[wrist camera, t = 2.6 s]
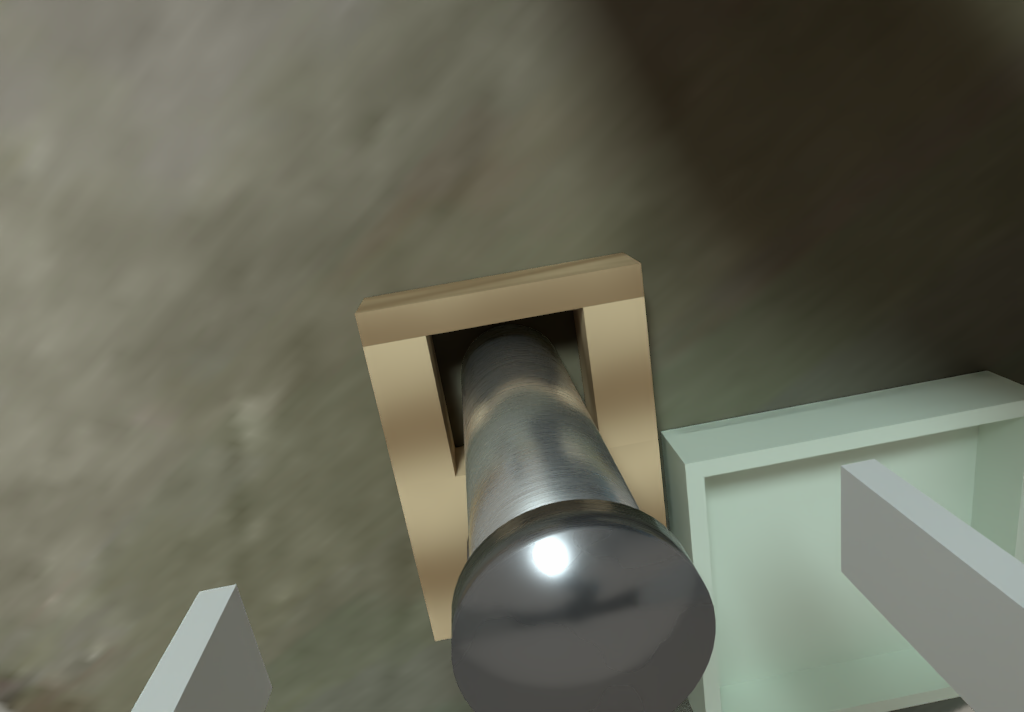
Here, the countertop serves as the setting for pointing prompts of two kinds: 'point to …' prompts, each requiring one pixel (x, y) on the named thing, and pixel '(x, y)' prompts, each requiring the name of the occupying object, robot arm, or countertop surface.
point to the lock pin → (563, 554)
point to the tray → (831, 535)
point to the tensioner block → (423, 412)
